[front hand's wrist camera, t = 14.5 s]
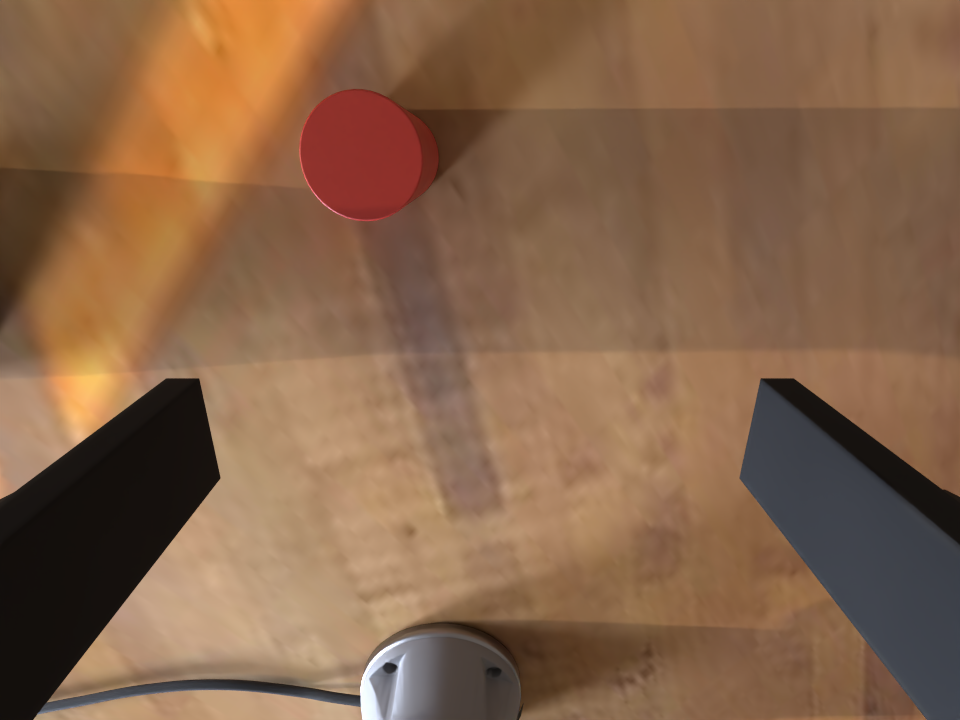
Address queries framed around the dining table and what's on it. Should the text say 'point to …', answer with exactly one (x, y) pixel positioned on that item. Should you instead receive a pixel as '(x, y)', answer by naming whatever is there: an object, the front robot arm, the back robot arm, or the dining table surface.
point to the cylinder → (366, 155)
